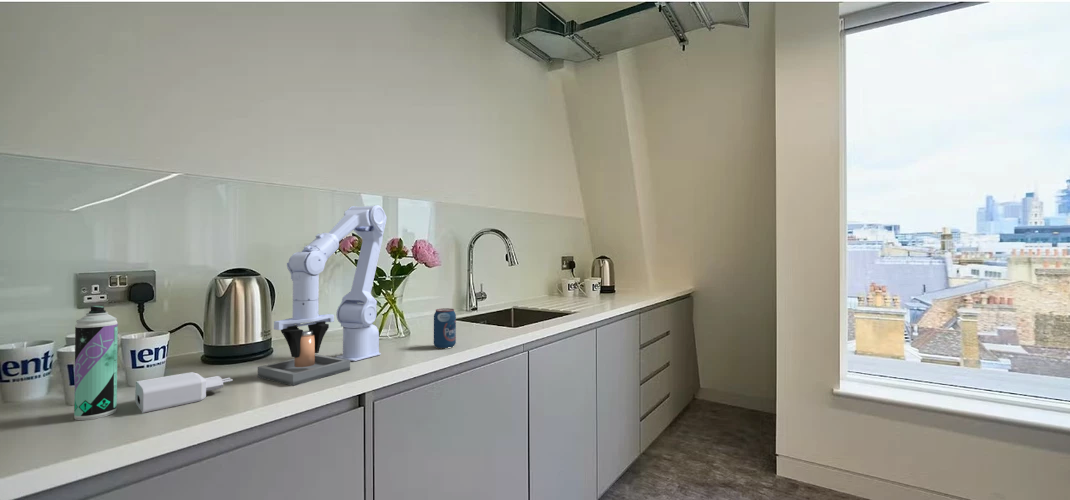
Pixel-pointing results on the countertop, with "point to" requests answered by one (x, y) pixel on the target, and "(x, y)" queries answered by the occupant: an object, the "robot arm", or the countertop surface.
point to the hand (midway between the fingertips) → (305, 354)
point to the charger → (174, 390)
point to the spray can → (95, 365)
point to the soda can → (444, 328)
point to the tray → (303, 370)
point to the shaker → (306, 350)
